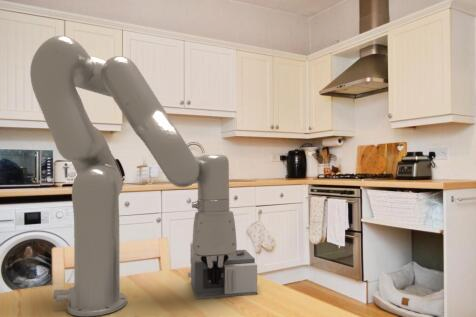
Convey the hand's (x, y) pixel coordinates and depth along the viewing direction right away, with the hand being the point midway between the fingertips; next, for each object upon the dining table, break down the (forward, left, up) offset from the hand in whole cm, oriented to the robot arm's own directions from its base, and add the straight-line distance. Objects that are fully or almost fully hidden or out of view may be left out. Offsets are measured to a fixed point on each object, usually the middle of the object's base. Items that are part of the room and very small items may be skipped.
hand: (214, 282), depth 89 cm
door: (+6, 0, -3) cm, 7 cm away
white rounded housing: (-1, +18, -4) cm, 19 cm away
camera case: (+3, +6, -3) cm, 7 cm away
